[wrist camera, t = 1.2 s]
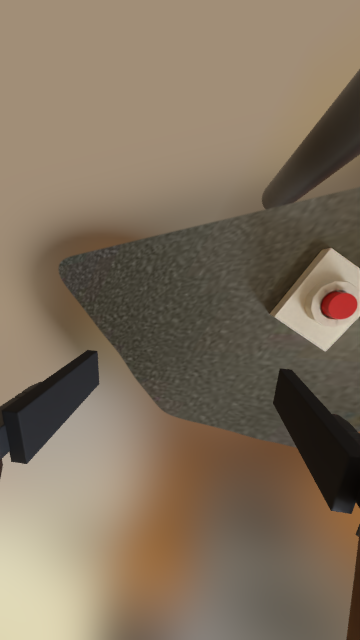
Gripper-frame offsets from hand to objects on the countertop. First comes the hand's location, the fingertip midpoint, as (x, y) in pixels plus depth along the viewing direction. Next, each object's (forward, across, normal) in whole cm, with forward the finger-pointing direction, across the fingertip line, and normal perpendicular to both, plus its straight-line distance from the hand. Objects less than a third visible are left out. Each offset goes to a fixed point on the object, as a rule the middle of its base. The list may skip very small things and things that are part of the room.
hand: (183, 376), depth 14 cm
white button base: (+21, +20, +4) cm, 29 cm away
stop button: (+17, +20, +4) cm, 26 cm away
